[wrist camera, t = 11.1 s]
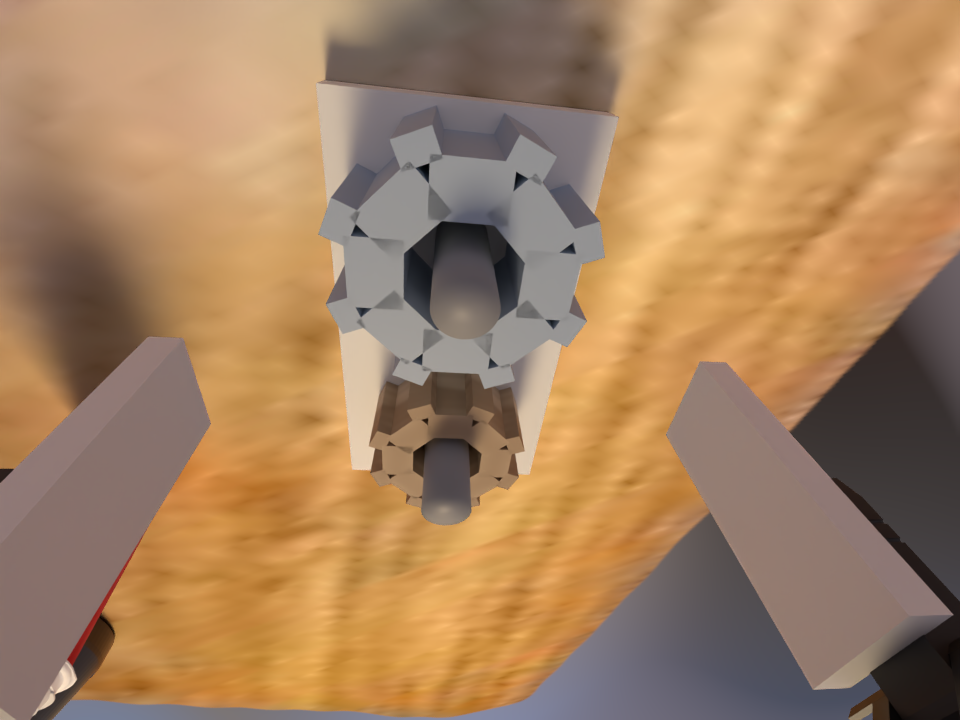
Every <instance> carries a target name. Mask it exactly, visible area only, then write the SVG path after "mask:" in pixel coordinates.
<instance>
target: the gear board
mask: <svg viewBox="0 0 960 720" xmlns="http://www.w3.org/2000/svg"><path fill="white" fill-rule="evenodd" d="M316 89H317V100H318V110H319V121H320V132H321V142H322V153H323V164H324V174H325V185H326V196H327V206H328V204H329V202H330V199H331V197H332V195H333V194H334V193H335V192H336V190H337V189H338V188H339V186H340V185H341V184H342V182H343V181H344V180H345V178H346V177H347V176H348V174H349V173H350V172H351V171H352V169H353V168H354V167H355V165H356V164H359V165H361V166H363V167H365V168H367V169H369V170H371V171H373V172H375V173H376V174H377V173H378V172H379V171H380V170H381V169H382V168H383V167H385V166H386V165H387V164H388V163H389V162H390V161H391V160H392V159H393V158H394V157H395V153H394V150H393V148H392V145H391V142H390V138H391V136H392V135H393V133H394V131H395V130H396V128H397V127H398V125H399V123H400V122H401V120H402V119H403V117H405V116H407V115H410V114H413V113H416V112H419V111H422V110H424V109H427V108H430V107H433V106H436V105H437V108H438V111H439V114H440V118H441V121H442V124H443V127H444V129H448V130H458V131H467V132H477V133H486V134H494V133H495V131H496V129H497V127H498V125H499V123H500V121H501V119H502V117H503V115H504V113H506V114H507V115H509V116H511V117H512V118H514V119H516V120H517V121H519V122H520V123H522V124H524V125H525V126H527V127H528V128H530V129H532V130H533V131H534V132H535V133H536V134H537V135H538V136H539V137H540V138H541V139H542V140H543V142H544V143H545V144H546V145H547V146H548V147H549V148H550V149H551V150H552V152H553V153H554V154H555V155H556V156H557V158H556V160H555V162H554V164H553V165H552V167H551V169H550V170H549V172H548V174H547V175H546V177H545V179H544V183H545V184H546V186H547V187H548V188H549V190H552V189H555V188H558V187H561V186H565V185H568V184H570V185H571V187H572V188H573V189H574V190H575V192H576V193H577V194H578V195H579V196H580V198H581V199H582V200H583V201H584V203H585V204H586V205H587V206H588V208H589V209H590V210H591V211H592V212H593V214H595V210H596V206H597V202H598V198H599V194H600V190H601V186H602V182H603V178H604V174H605V170H606V166H607V162H608V158H609V154H610V150H611V146H612V142H613V138H614V134H615V130H616V126H617V122H618V118H619V117H618V116H615V115H613V114H611V113H609V112H602V111H593V110H585V109H576V108H567V107H558V106H549V105H540V104H532V103H523V102H514V101H505V100H496V99H487V98H479V97H470V96H461V95H452V94H443V93H435V92H426V91H417V90H408V89H399V88H390V87H382V86H373V85H364V84H355V83H346V82H337V81H329V80H324V81H321V82H318V83H316ZM506 246H507V240H506V239H505V238H504V237H503V235H502V234H501V233H500V232H499V230H498V229H497V228H496V227H495V226H494V225H483V224H472V223H460V222H448V221H441V222H440V223H439V224H438V225H437V226H435V227H434V228H433V229H432V230H431V231H430V232H428V233H427V234H426V235H425V236H424V237H423V238H421V239H420V240H419V241H418V242H417V243H416V244H414V245H413V250H414V251H415V252H416V253H417V254H418V255H419V256H420V257H421V258H422V259H423V260H424V261H425V262H426V263H427V264H428V265H429V266H430V267H431V269H432V270H433V275H432V287H431V300H430V314H431V318H432V320H433V322H434V324H435V325H436V327H437V328H438V329H439V330H440V331H441V332H443V333H444V334H446V335H448V336H450V337H453V338H456V339H474V338H477V337H480V336H482V335H484V334H486V333H487V332H489V331H490V330H491V329H492V328H493V327H494V326H495V324H496V323H497V321H498V319H499V316H500V312H501V304H500V298H499V293H498V288H497V282H496V277H495V271H494V266H493V265H494V264H496V263H497V262H498V261H499V260H501V259H502V258H503V257H505V253H506ZM331 249H332V260H333V270H334V281H335V284H336V282H337V280H338V278H339V275H340V273H341V271H342V269H343V267H344V265H345V262H344V249H343V246H342V245H340V244H338V243H336V242H334V241H331ZM581 266H582V264H581ZM580 270H581V267H580ZM579 274H580V271H579ZM578 278H579V275H578ZM577 282H578V279H577ZM576 286H577V283H576ZM575 290H576V287H575ZM574 294H575V291H574ZM339 334H340V345H341V356H342V367H343V377H344V388H345V399H346V409H347V420H348V431H349V441H350V452H351V463H352V470H371V467H372V461H373V456H374V451H375V448H373V447H369V442H370V437H371V433H372V428H373V423H374V418H375V413H376V408H377V403H378V398H379V395H380V393H381V391H382V389H383V387H384V385H385V383H386V381H387V382H390V383H393V384H395V385H400V384H401V383H403V382H404V381H405V379H402V378H399V377H397V376H394V375H392V374H393V368H394V362H395V357H396V356H395V355H394V354H393V353H392V352H391V351H390V350H388V349H387V348H386V347H385V346H384V345H383V344H381V343H380V342H379V341H378V340H377V339H376V338H374V337H373V336H372V335H371V334H370V333H369V332H367V331H366V330H365V329H364V328H362V329H358V330H355V331H351V332H348V333H345V334H342V332H341V330H340V328H339ZM561 346H562V345H561V344H559V343H557V342H555V341H552V340H550V339H549V340H548V341H546V342H545V343H543V344H542V345H540V346H539V347H537V348H536V349H534V350H533V351H531V352H530V353H528V354H527V355H525V356H524V357H522V358H521V359H519V360H518V361H516V362H515V363H513V364H512V368H513V373H514V378H515V381H513V382H509V383H505V384H502V385H498V386H495V387H496V388H497V389H498V390H502V389H506V388H510V387H511V389H512V392H513V395H514V398H515V401H516V405H517V411H518V416H519V422H520V428H521V433H522V439H523V445H524V450H525V451H524V452H520V453H516V454H515V456H516V462H517V469H518V474H530V470H531V466H532V462H533V458H534V454H535V450H536V446H537V442H538V438H539V434H540V430H541V426H542V422H543V418H544V414H545V410H546V406H547V402H548V398H549V394H550V390H551V386H552V382H553V378H554V374H555V370H556V366H557V362H558V358H559V354H560V350H561ZM421 512H422V515H423V517H424V518H425V519H426V520H428V521H429V522H431V523H434V524H438V525H453V524H457V523H460V522H462V521H464V520H465V519H467V518H468V517H469V515H470V513H471V489H470V465H469V443H468V442H467V441H465V440H464V439H451V438H434V439H432V440H430V441H429V442H427V443H426V444H425V459H424V475H423V490H422V506H421Z"/></svg>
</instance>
